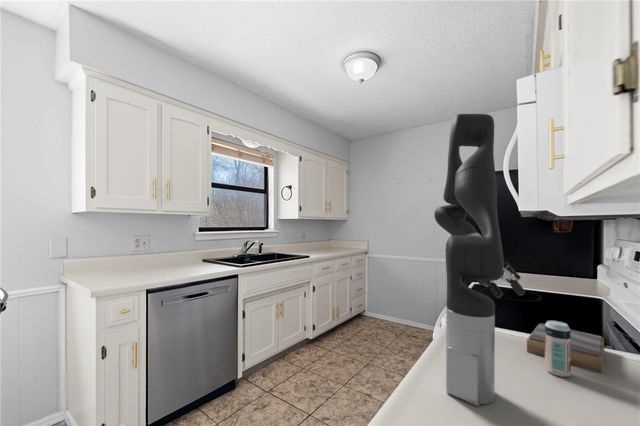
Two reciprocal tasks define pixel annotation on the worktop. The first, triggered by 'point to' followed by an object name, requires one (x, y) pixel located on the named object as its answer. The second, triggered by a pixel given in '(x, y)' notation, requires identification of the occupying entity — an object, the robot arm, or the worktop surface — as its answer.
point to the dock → (573, 348)
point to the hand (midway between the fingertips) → (511, 295)
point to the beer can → (558, 348)
